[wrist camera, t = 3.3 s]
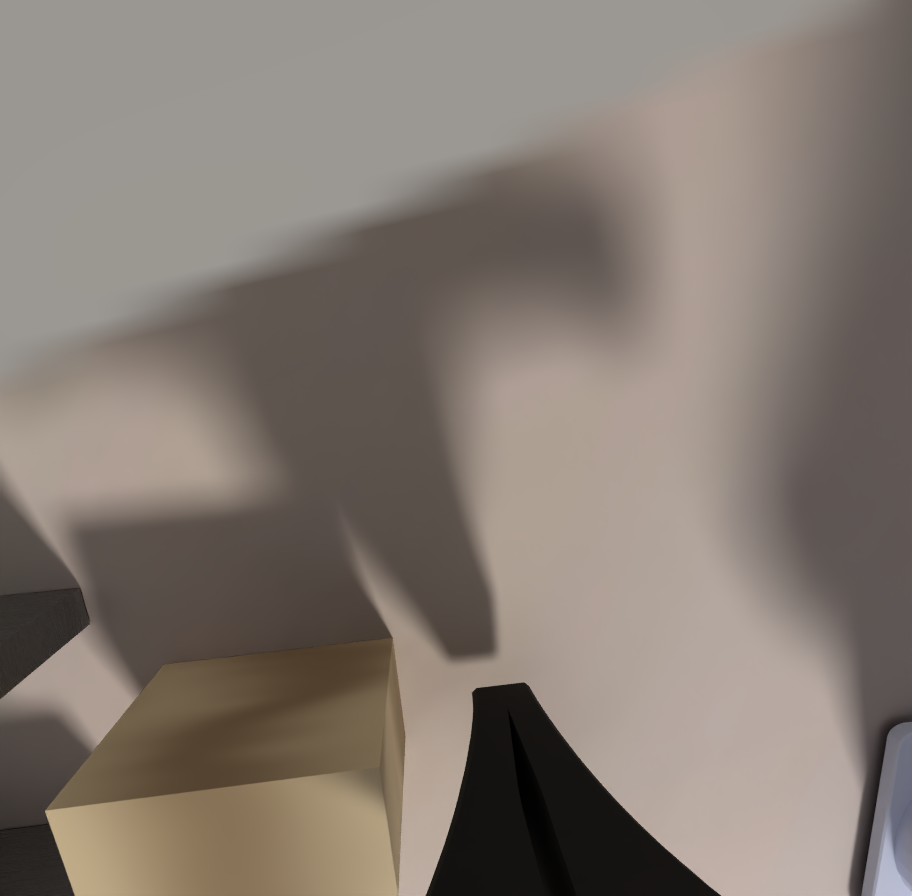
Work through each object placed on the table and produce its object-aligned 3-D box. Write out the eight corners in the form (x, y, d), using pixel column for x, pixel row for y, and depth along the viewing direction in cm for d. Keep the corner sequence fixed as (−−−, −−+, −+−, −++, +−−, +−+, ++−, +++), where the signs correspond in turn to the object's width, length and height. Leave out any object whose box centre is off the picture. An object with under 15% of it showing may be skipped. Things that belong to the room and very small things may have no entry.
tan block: (393, 634, 12) (379, 767, 9) (405, 733, 13) (398, 896, 9) (166, 661, 12) (44, 810, 8) (191, 760, 13) (91, 940, 9)
